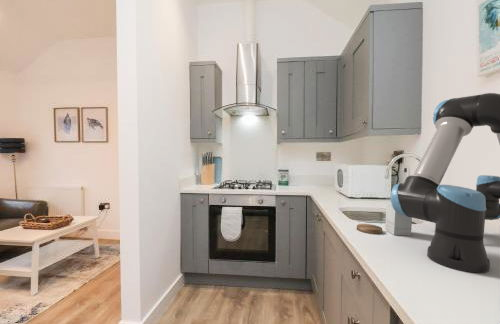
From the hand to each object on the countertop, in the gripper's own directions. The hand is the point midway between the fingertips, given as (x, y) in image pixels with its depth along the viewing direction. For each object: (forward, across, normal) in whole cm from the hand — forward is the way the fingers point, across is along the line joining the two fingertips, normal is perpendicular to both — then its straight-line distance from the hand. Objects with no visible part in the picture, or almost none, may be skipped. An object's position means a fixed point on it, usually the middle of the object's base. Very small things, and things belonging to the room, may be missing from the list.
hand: (420, 211), depth 109 cm
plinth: (+21, +3, -9) cm, 23 cm away
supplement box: (+10, 0, -10) cm, 14 cm away
